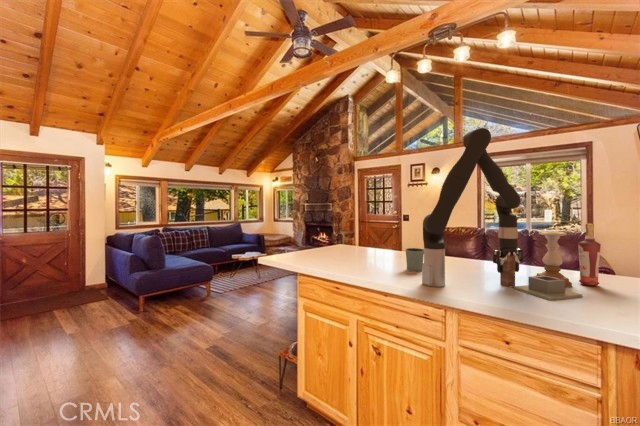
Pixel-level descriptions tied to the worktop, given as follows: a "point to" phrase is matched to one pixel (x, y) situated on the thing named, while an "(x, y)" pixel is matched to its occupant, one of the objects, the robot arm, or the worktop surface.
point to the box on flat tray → (547, 288)
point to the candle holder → (553, 257)
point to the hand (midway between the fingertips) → (508, 272)
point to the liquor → (589, 258)
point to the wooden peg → (508, 272)
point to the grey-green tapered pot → (414, 259)
